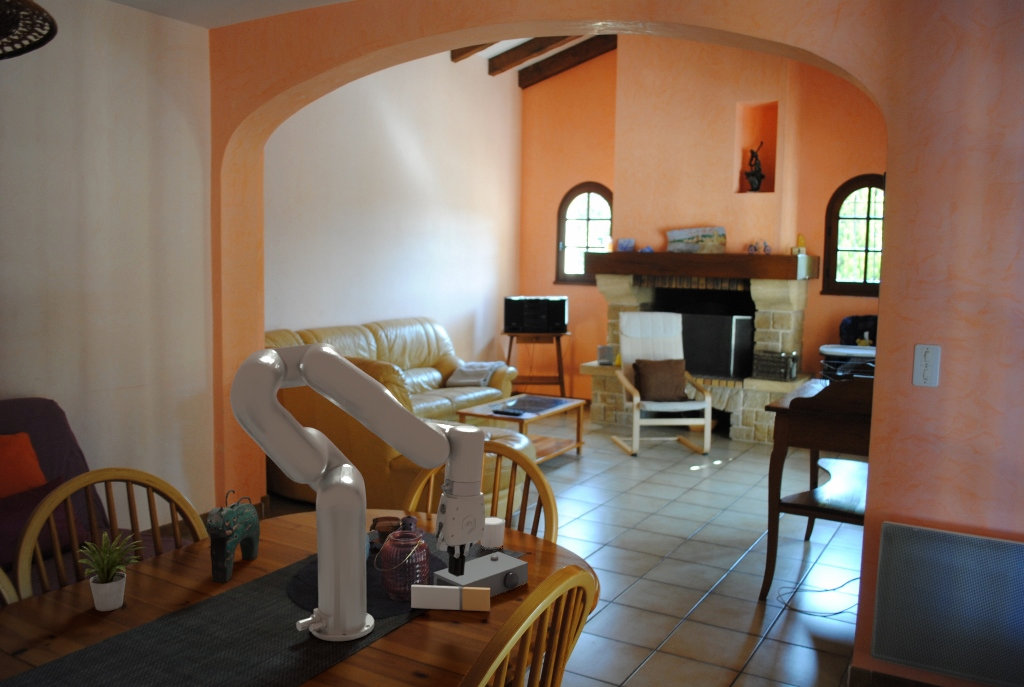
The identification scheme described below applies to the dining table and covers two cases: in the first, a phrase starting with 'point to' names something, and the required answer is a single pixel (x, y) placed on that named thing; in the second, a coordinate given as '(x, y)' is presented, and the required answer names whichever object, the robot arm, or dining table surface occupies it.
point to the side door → (450, 597)
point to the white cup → (493, 532)
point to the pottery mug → (384, 527)
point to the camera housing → (487, 574)
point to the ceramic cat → (232, 536)
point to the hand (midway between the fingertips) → (455, 573)
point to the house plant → (108, 572)
